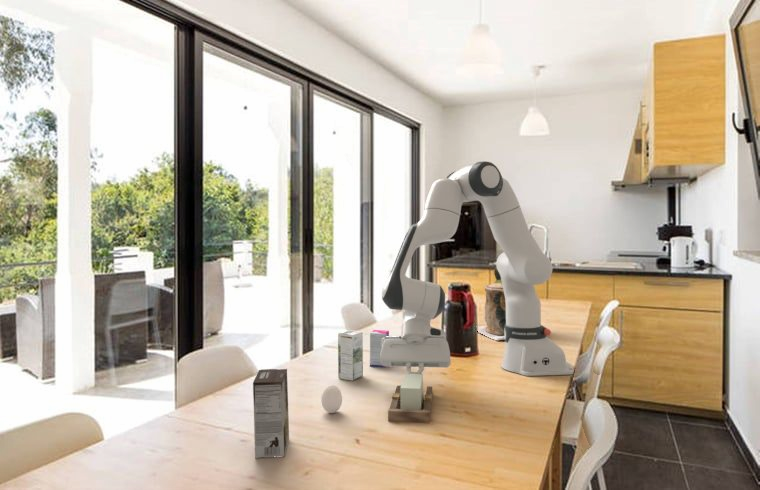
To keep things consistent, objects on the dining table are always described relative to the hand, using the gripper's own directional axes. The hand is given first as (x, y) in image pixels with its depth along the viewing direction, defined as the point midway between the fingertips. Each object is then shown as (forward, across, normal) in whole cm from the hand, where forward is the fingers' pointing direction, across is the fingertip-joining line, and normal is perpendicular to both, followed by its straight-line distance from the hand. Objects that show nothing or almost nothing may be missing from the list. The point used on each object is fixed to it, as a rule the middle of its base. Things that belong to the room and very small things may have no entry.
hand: (414, 379), depth 135 cm
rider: (+9, 0, -2) cm, 9 cm away
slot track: (+8, 0, -1) cm, 8 cm away
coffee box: (+28, -28, -21) cm, 45 cm away
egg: (+13, -20, -6) cm, 25 cm away
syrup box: (-7, -21, +14) cm, 27 cm away
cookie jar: (-54, +35, +62) cm, 89 cm away
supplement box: (-18, -14, +25) cm, 34 cm away
